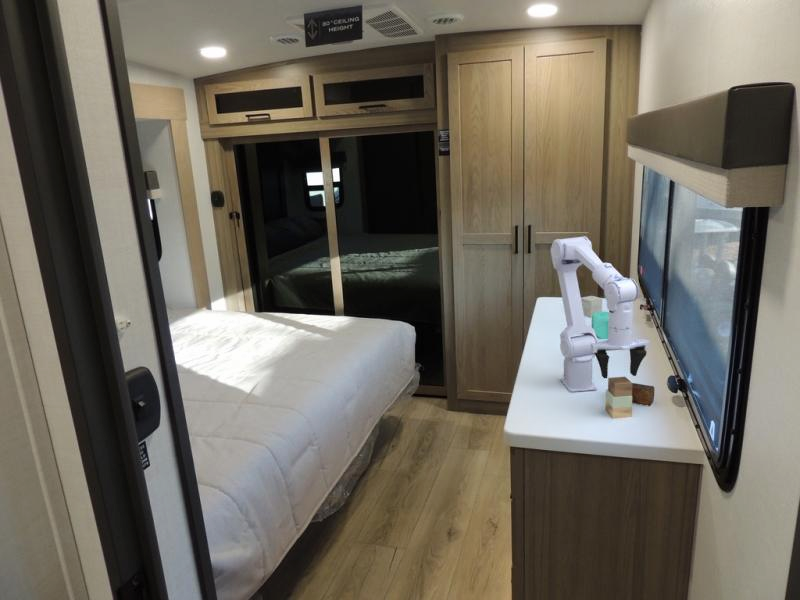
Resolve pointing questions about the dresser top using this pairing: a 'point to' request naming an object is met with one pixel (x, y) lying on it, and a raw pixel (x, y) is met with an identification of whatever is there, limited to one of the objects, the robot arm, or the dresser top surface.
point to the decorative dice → (601, 324)
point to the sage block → (618, 400)
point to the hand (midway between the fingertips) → (618, 375)
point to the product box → (591, 305)
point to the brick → (642, 394)
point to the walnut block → (619, 386)
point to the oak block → (618, 411)
